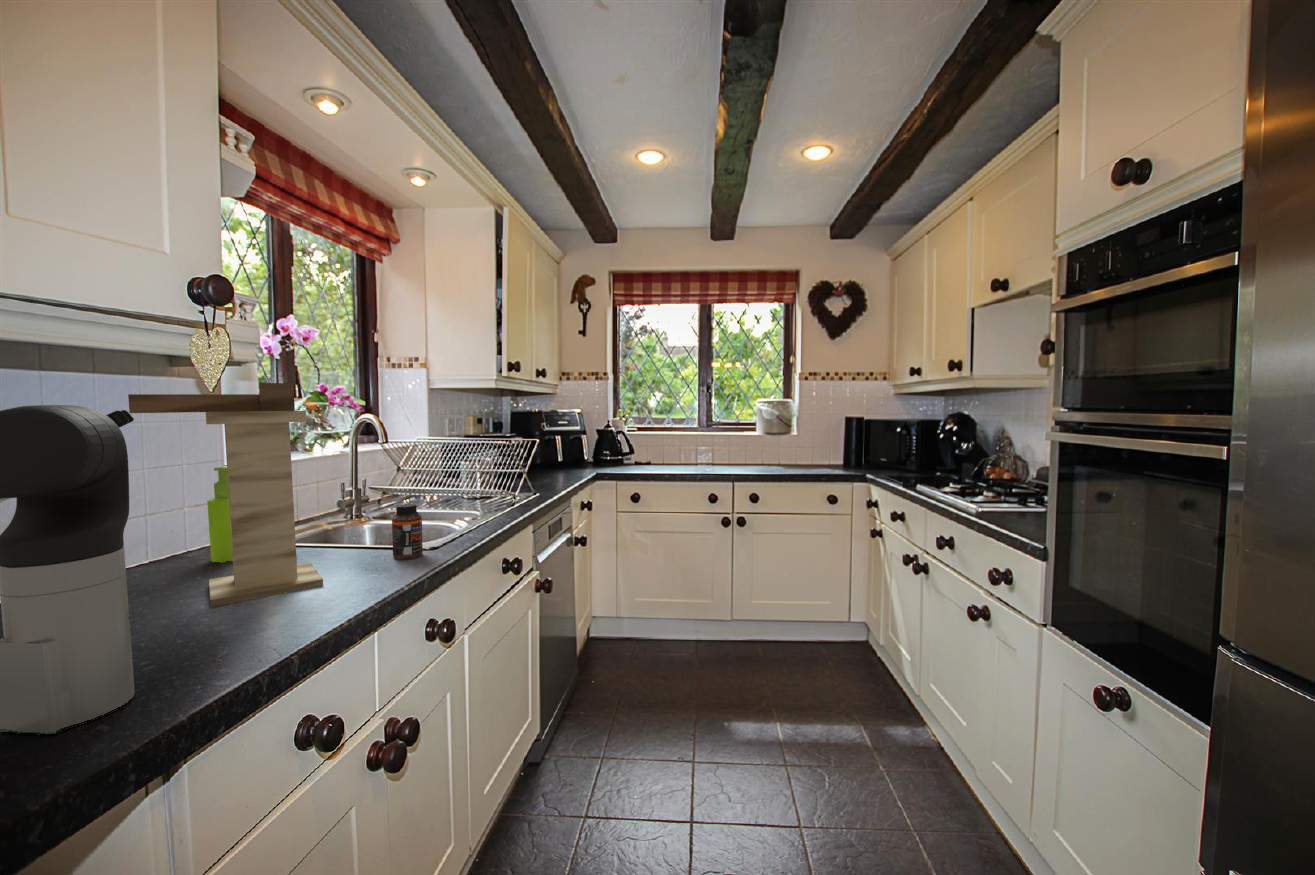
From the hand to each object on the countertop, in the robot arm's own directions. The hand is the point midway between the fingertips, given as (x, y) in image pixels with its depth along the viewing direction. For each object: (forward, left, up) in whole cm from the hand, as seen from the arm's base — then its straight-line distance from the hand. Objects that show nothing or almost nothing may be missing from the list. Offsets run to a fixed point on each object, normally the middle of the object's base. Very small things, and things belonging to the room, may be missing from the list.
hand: (127, 415), depth 88 cm
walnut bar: (+8, -8, 0) cm, 11 cm away
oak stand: (+12, -12, -32) cm, 36 cm away
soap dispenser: (+28, +10, -32) cm, 44 cm away
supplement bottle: (+32, -28, -32) cm, 53 cm away
